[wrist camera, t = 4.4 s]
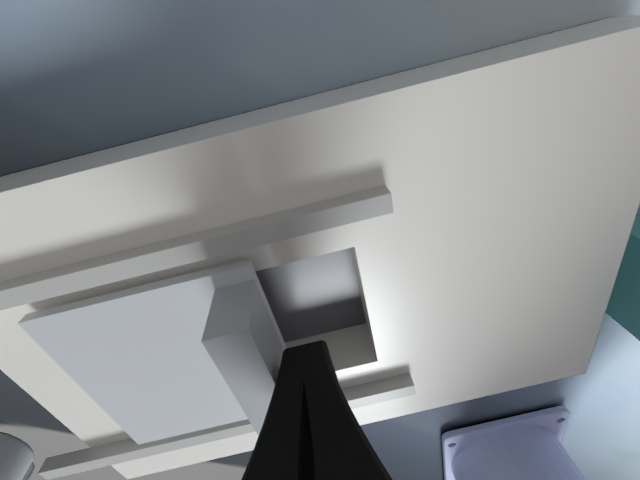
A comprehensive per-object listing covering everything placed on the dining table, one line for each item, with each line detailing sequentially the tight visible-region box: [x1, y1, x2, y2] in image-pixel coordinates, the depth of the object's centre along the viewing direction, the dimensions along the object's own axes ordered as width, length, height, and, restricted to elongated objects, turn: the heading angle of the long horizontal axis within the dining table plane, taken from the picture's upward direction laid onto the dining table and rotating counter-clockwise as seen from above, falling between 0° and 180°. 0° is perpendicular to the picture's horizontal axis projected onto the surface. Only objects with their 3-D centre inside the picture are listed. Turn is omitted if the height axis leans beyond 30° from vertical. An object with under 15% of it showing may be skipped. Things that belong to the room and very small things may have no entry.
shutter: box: [17, 258, 287, 445], centre depth 11 cm, size 7×7×2 cm
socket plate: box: [0, 15, 640, 480], centre depth 13 cm, size 14×24×3 cm, turn 103°
